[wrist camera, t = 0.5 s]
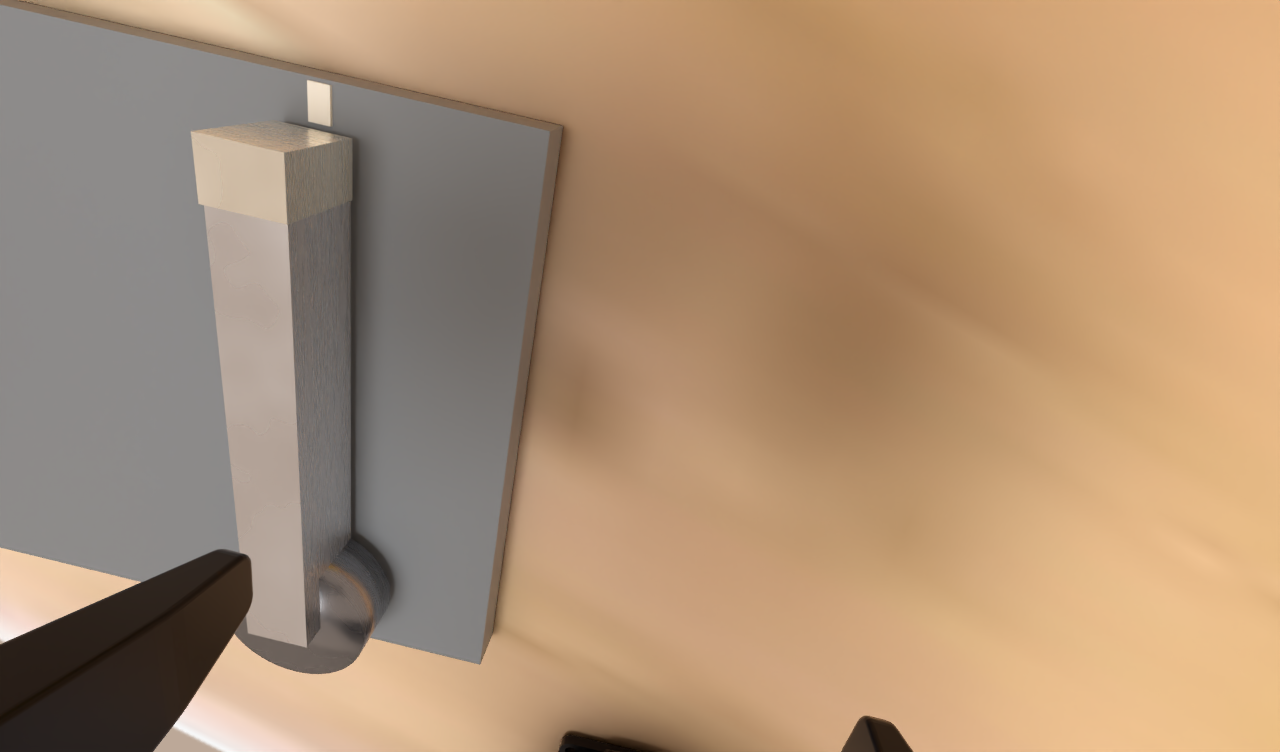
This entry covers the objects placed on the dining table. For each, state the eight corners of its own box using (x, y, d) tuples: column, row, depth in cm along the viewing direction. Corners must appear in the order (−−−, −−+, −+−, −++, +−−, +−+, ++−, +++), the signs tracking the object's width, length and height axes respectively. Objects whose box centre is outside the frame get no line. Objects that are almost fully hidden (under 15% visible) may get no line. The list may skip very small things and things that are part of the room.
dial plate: (492, 634, 27) (479, 666, 25) (25, 520, 27) (-14, 546, 26) (563, 125, 18) (549, 131, 16) (-137, -36, 18) (-211, -44, 17)
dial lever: (388, 642, 25) (349, 710, 22) (262, 611, 25) (209, 675, 22) (407, 151, 17) (348, 167, 14) (219, 107, 17) (126, 116, 14)
